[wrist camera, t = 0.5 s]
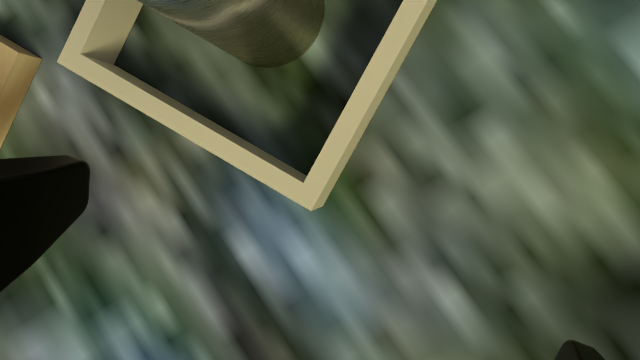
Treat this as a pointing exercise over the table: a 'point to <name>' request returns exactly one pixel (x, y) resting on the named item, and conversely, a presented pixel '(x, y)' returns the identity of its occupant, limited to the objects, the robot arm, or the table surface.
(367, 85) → the frame
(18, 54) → the tray
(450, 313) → the table surface
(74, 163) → the robot arm
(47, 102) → the table surface
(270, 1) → the disc
